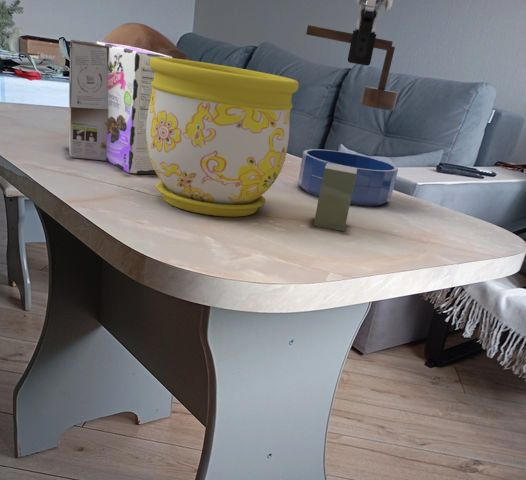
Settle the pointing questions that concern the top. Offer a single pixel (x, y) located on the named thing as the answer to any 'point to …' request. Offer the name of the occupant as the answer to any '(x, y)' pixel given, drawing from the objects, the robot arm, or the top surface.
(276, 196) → the top surface
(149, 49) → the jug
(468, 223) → the top surface
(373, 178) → the bowl
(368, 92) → the wooden gallows stand
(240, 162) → the flowerpot
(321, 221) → the olive green upright block
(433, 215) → the top surface
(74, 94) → the coffee box
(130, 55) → the candy box
